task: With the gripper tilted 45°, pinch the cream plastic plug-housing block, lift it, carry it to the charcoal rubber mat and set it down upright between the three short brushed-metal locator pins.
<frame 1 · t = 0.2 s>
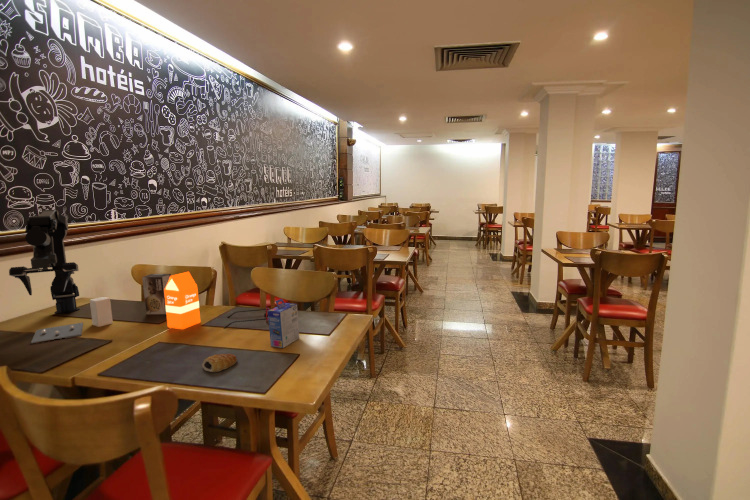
hand: (47, 293, 146), 15 cm above the table, tool tilted 15°, fingers open, 9 cm apart
pastry: (219, 367, 119), on the table
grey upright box: (160, 312, 174), on the table
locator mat: (58, 333, 150), on the table
glasses: (247, 322, 161), on the table
orange juice: (184, 325, 157), on the table
ink cartridge box: (285, 342, 137), on the table
locator pins: (57, 331, 148), on the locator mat, point 1 cm above the table
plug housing: (102, 323, 160), on the table
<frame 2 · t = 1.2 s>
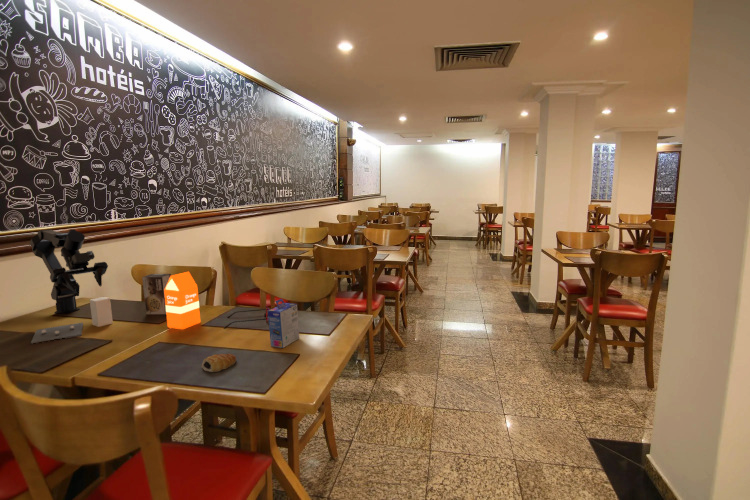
hand: (88, 288, 162), 13 cm above the table, tool tilted 45°, fingers open, 9 cm apart
nothing on the table moved.
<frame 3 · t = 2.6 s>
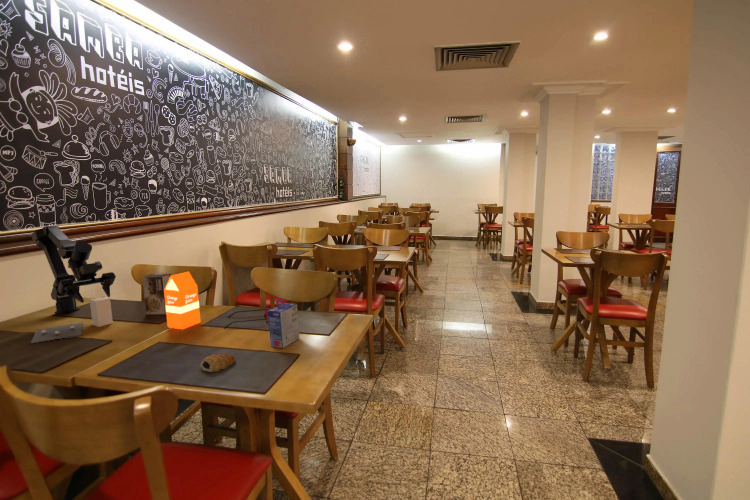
hand: (96, 299, 160), 9 cm above the table, tool tilted 45°, fingers open, 9 cm apart
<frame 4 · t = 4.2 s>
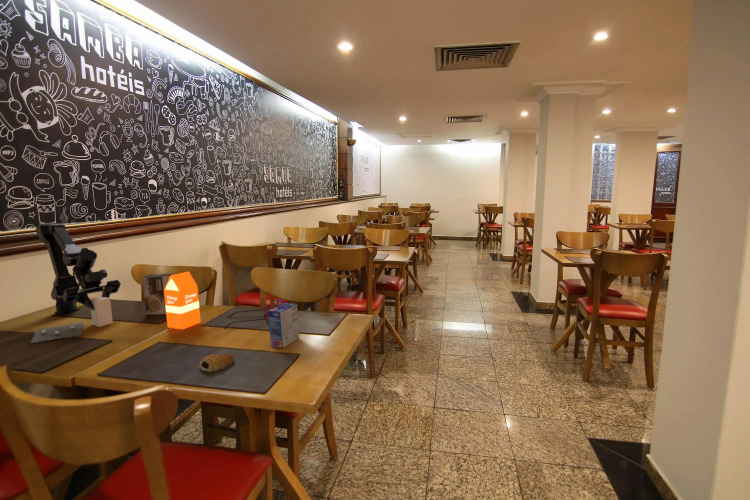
hand: (101, 307, 159), 7 cm above the table, tool tilted 45°, fingers closed on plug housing, 5 cm apart
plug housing: (102, 323, 160), on the table, touching gripper
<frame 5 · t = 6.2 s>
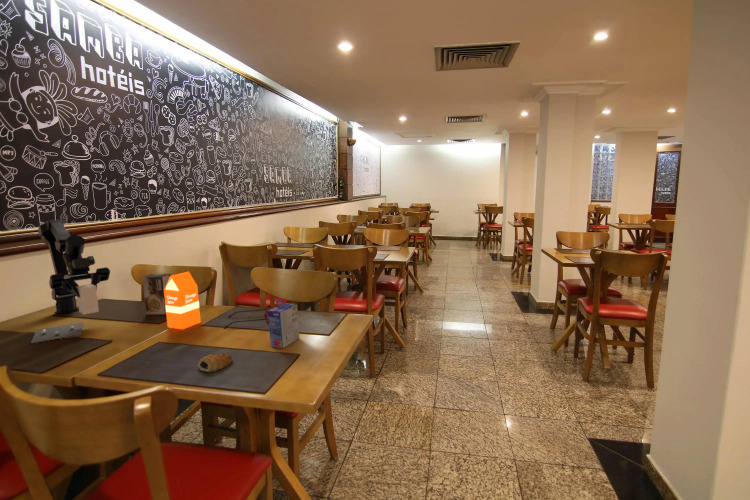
hand: (87, 295, 154), 12 cm above the table, tool tilted 45°, fingers closed on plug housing, 5 cm apart
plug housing: (89, 311, 156), point 6 cm above the table, touching gripper
when the fingers open (8 cm above the table, at t = 8.6 s): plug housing stays where it is, resting on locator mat.
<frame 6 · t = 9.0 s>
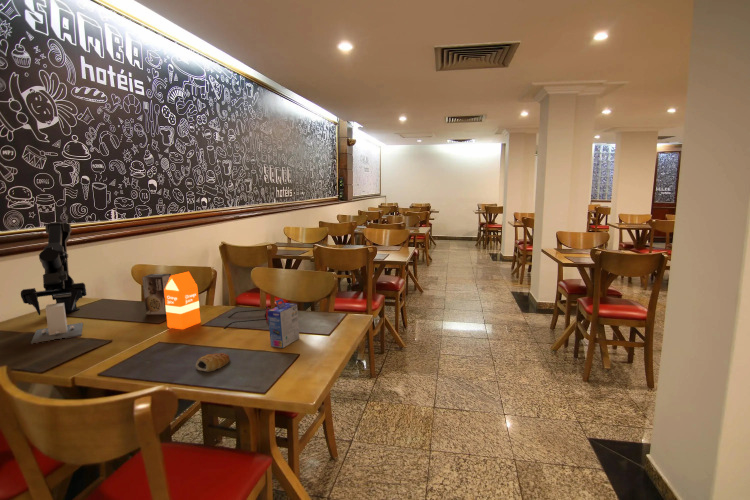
hand: (55, 312, 148), 8 cm above the table, tool tilted 45°, fingers open, 9 cm apart
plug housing: (58, 331, 150), point 1 cm above the table, touching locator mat
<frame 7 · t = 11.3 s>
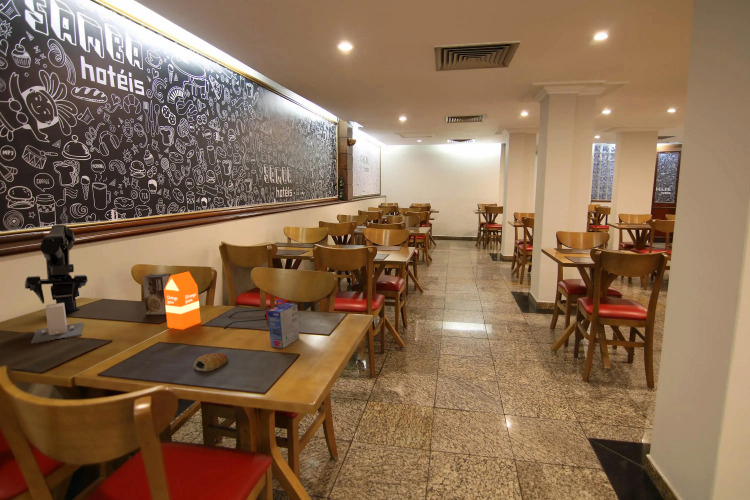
hand: (58, 302, 157), 9 cm above the table, tool tilted 30°, fingers open, 9 cm apart
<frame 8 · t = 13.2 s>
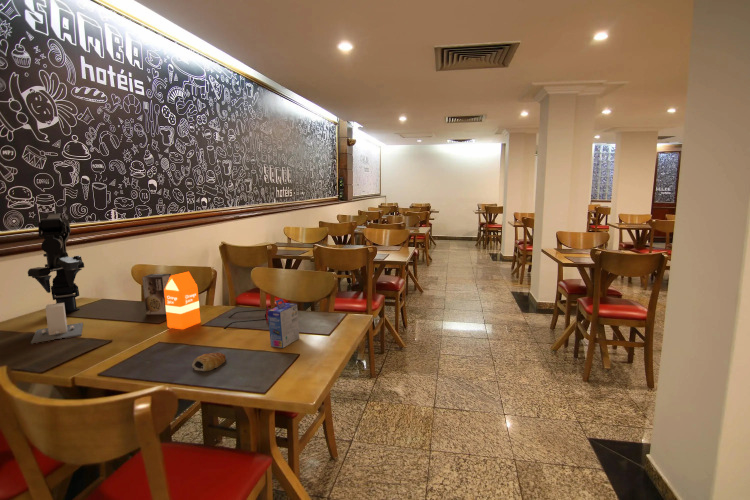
hand: (60, 289, 162), 13 cm above the table, tool pointing down, fingers open, 9 cm apart
at the end: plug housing 0.1 cm off-centre on the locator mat, point 0.6 cm above the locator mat's base; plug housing tilted 0°; the gripper is holding nothing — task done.
